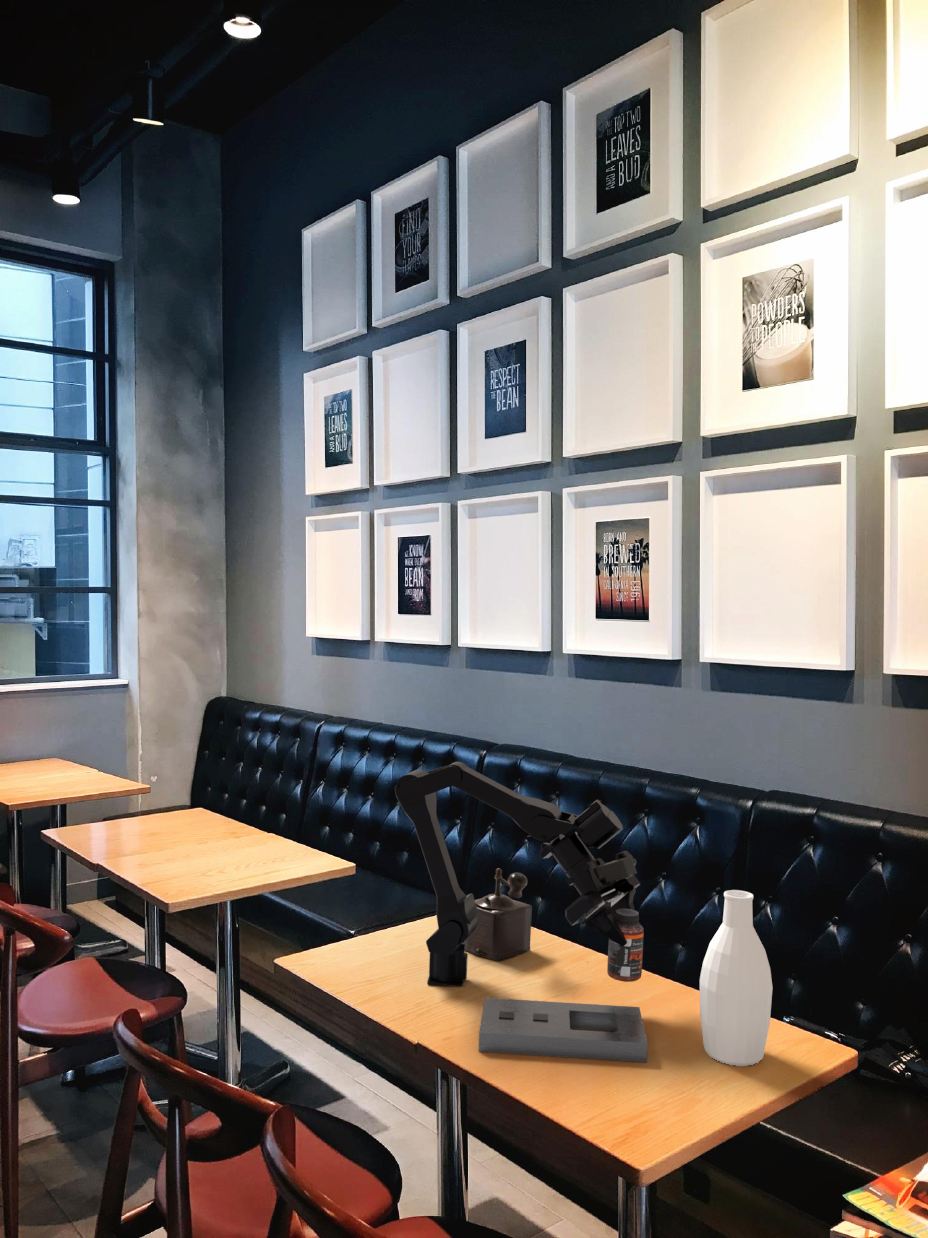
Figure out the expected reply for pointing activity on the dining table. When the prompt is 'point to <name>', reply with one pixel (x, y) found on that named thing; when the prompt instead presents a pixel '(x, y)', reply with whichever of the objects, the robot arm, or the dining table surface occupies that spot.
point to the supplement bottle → (626, 948)
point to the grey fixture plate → (562, 1030)
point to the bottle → (735, 987)
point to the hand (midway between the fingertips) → (633, 940)
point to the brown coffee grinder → (502, 922)
